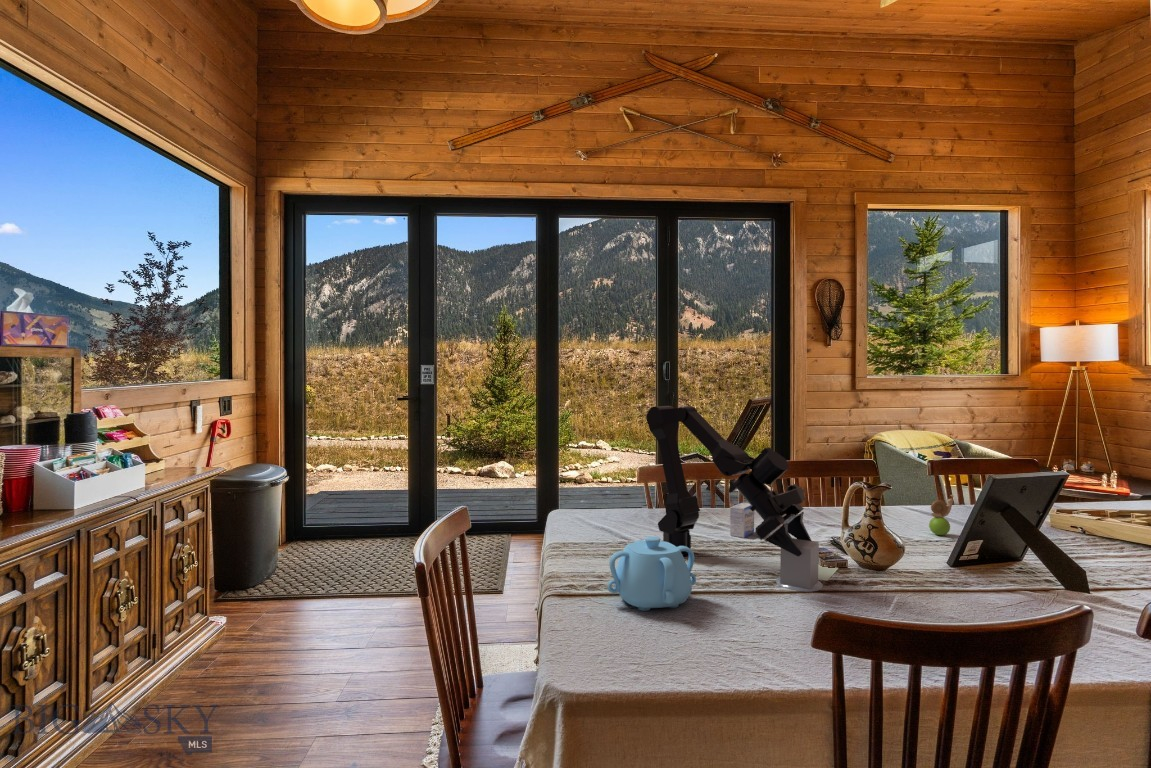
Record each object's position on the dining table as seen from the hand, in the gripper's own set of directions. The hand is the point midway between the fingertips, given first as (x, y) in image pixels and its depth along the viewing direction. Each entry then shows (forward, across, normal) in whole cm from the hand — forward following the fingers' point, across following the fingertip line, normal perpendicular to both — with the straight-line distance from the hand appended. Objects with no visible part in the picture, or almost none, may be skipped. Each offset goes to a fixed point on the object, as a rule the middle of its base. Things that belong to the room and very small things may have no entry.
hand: (806, 550), depth 144 cm
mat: (+4, +11, +7) cm, 14 cm away
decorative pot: (-11, -28, +23) cm, 38 cm away
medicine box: (-13, +34, +26) cm, 45 cm away
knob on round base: (+5, 0, +7) cm, 8 cm away
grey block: (+4, 0, +6) cm, 8 cm away
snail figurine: (+20, +68, -8) cm, 72 cm away
